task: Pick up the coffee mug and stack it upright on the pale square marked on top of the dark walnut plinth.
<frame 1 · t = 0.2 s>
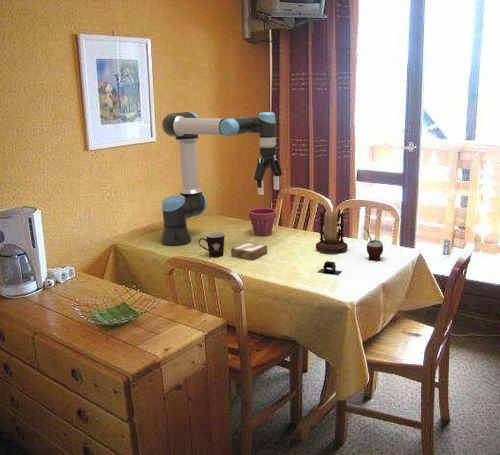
hand: (268, 192, 238), 28 cm above the table, tool pointing down, fingers open, 13 cm apart
coffee mug: (213, 255, 237), on the table
mate gourd: (373, 259, 224), on the table
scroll: (331, 250, 239), on the table
plinth: (249, 255, 235), on the table
plant pot: (262, 234, 270), on the table
black hat: (329, 273, 210), on the table
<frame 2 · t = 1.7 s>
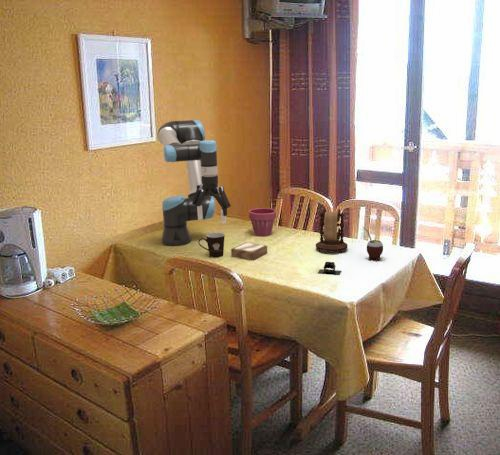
hand: (212, 221, 233), 16 cm above the table, tool pointing down, fingers open, 13 cm apart
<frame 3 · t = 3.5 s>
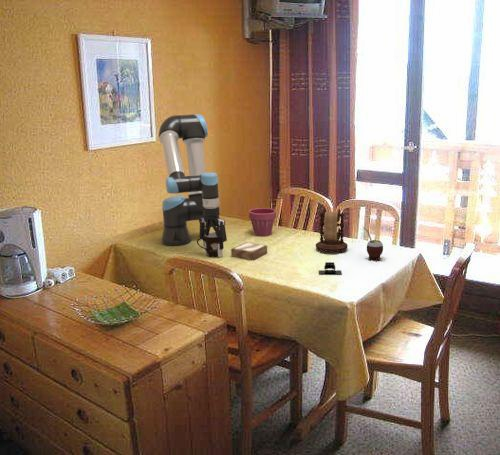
hand: (213, 254, 237), 0 cm above the table, tool pointing down, fingers open, 7 cm apart
coffee mug: (212, 255, 238), on the table, touching gripper
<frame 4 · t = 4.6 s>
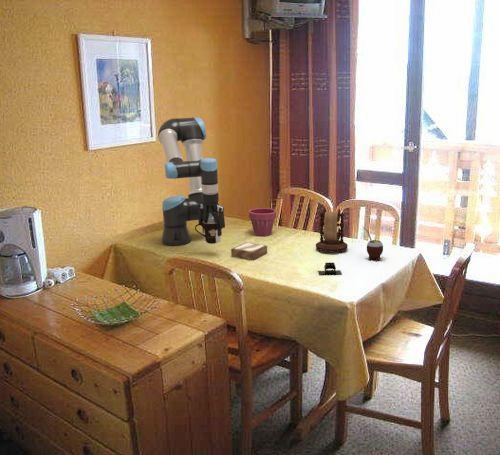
hand: (212, 241, 236), 7 cm above the table, tool pointing down, fingers closed on coffee mug, 6 cm apart
coffee mug: (210, 241, 237), point 6 cm above the table, touching gripper
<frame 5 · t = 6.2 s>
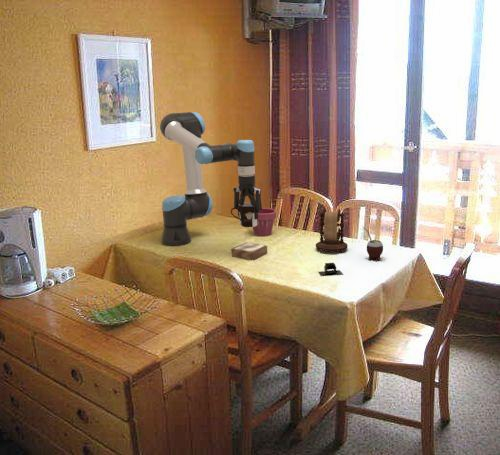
hand: (248, 225, 232), 14 cm above the table, tool pointing down, fingers closed on coffee mug, 6 cm apart
coffee mug: (245, 225, 233), point 14 cm above the table, touching gripper
when the fingers open (5 cm above the table, at t = 8.1 s): coffee mug drops 1 cm, resting on plinth.
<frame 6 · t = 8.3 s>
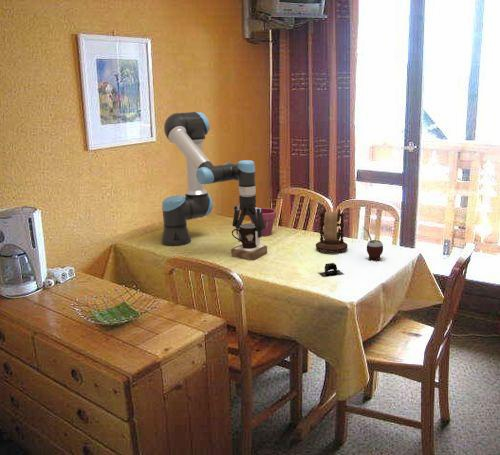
hand: (249, 242, 234), 6 cm above the table, tool pointing down, fingers open, 9 cm apart
coffee mug: (246, 246, 235), point 4 cm above the table, touching plinth
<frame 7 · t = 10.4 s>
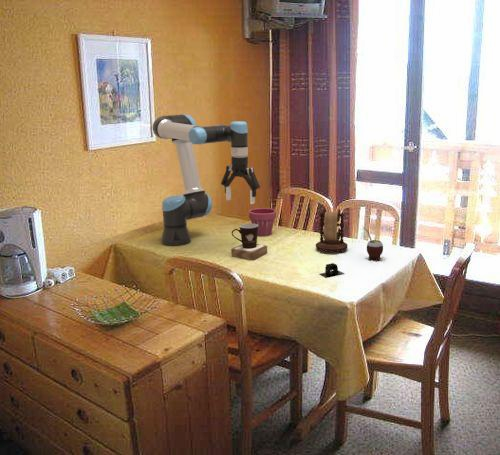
hand: (240, 201, 235), 24 cm above the table, tool pointing down, fingers open, 13 cm apart
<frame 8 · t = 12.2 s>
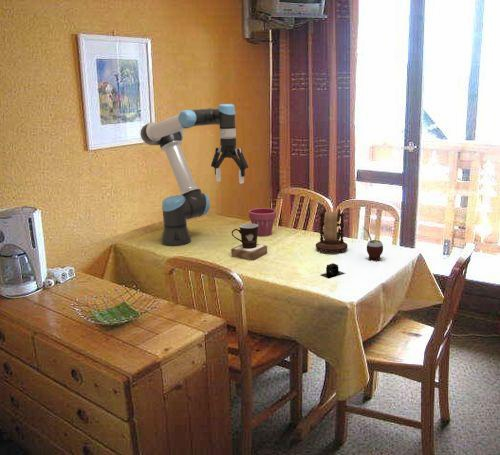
hand: (230, 182, 243), 32 cm above the table, tool pointing down, fingers open, 13 cm apart
at the end: coffee mug inside the target area on the plinth (1.6 cm from its centre), point 3.8 cm above the plinth's base; coffee mug tilted 0°; the gripper is holding nothing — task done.
